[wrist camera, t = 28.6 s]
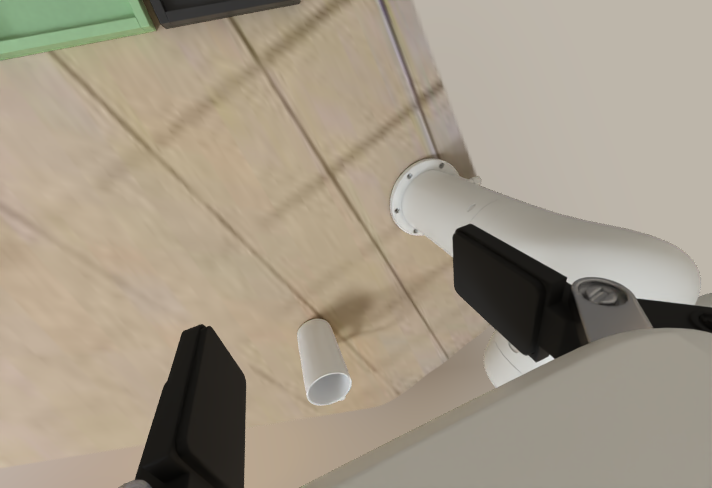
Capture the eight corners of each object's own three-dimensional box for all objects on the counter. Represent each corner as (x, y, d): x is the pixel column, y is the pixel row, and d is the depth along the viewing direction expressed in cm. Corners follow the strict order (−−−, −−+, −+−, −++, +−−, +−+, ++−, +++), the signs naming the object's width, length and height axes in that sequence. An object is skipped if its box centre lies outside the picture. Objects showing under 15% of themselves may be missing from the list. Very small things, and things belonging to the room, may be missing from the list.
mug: (288, 330, 49) (297, 390, 38) (321, 310, 49) (340, 365, 39) (315, 360, 54) (329, 420, 44) (345, 342, 54) (366, 398, 44)
